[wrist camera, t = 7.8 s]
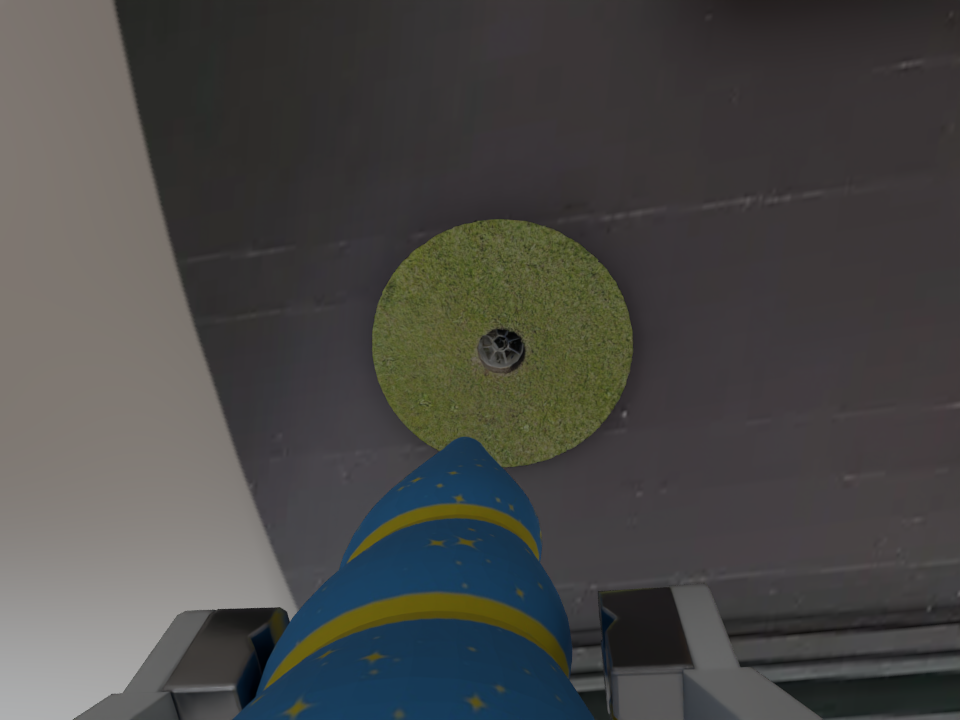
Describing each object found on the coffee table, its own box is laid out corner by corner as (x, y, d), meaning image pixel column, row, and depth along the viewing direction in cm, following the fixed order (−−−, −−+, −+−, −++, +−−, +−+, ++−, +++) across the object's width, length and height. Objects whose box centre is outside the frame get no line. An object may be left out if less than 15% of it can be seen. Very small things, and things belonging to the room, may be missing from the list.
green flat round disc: (330, 340, 32) (318, 353, 31) (497, 156, 29) (495, 159, 27) (505, 491, 35) (504, 512, 33) (679, 335, 31) (688, 349, 29)
